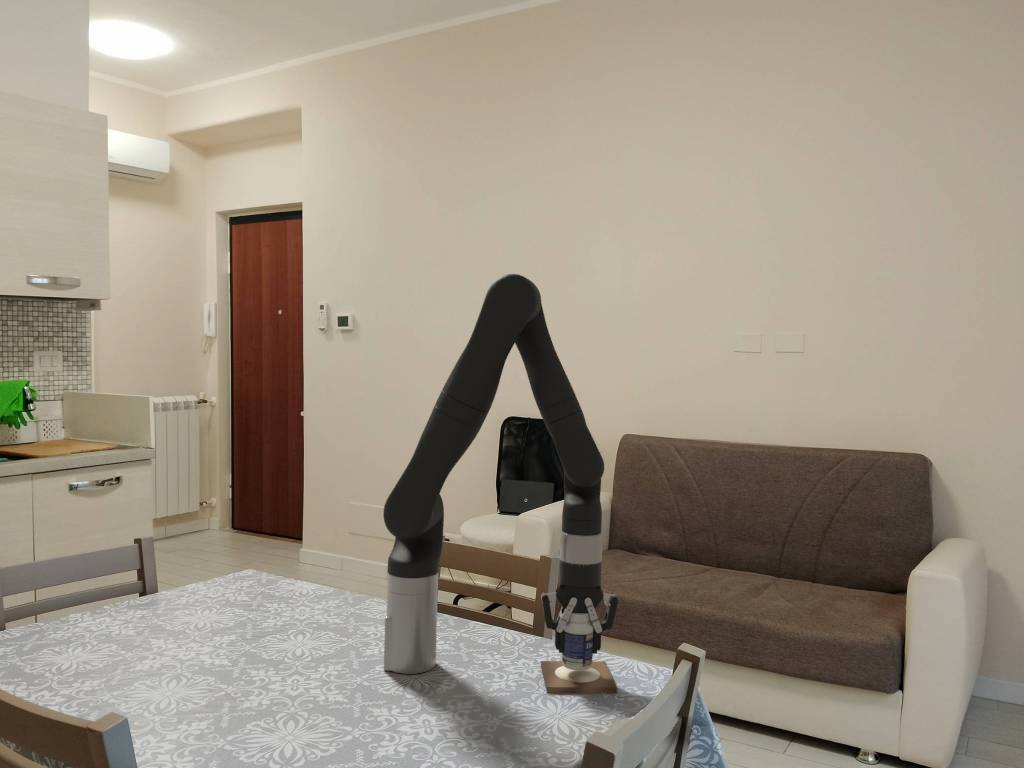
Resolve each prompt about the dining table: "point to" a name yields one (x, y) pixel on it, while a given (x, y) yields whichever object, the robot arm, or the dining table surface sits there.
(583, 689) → the rest board
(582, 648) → the pill bottle
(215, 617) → the dining table surface
